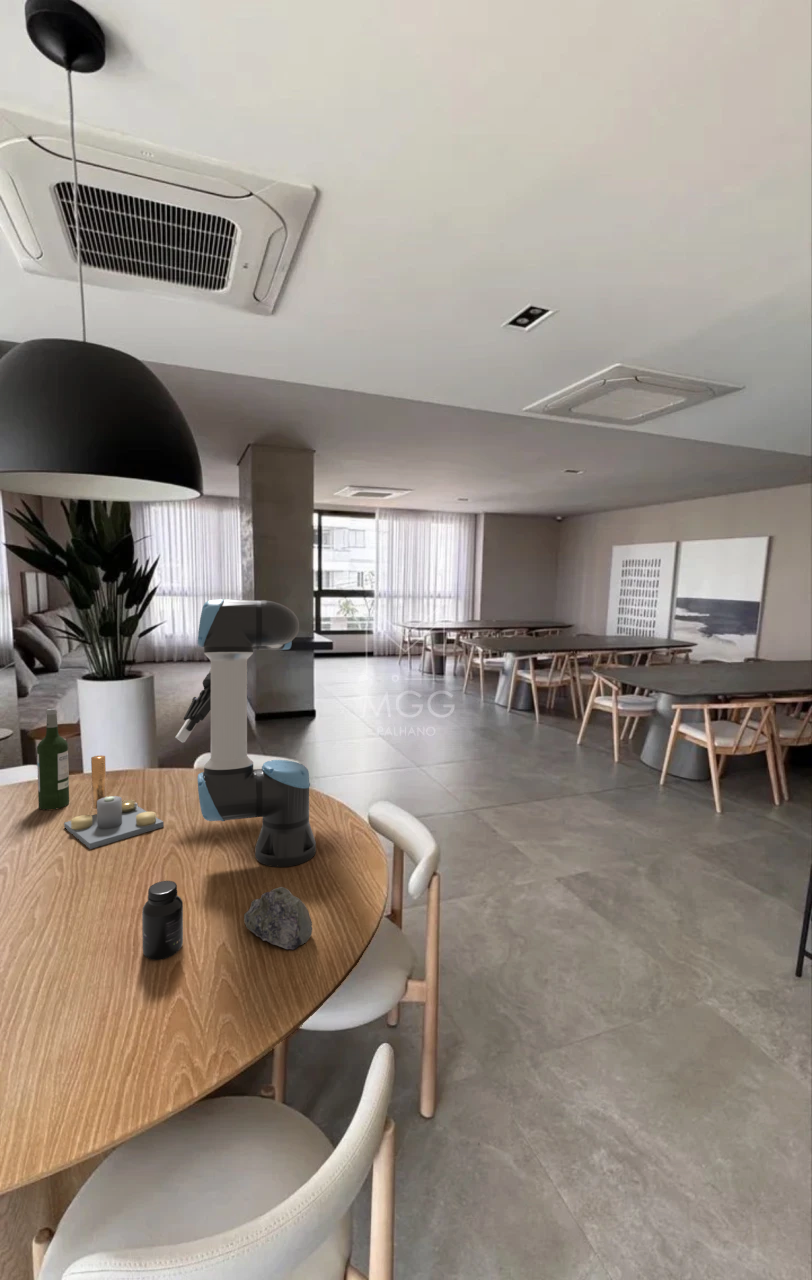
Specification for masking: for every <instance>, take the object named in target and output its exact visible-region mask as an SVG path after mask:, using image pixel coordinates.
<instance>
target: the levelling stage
mask: <svg viewBox="0 0 812 1280" xmlns="http://www.w3.org/2000/svg"><path fill="white" fill-rule="evenodd" d="M122 801H123V799H122V797H121V796H120V795H119V796H117V795H113V796H112V795H111V796H106V797H104V798H101V799H99V800H98V801H97V809H96V813H95V814H92V815H90V814H81V815H77V816H74V817H72V818H71V819H70V820H68V821H65V822H64V823H63V827H65V828H66V829H67V830H66V829H65V828H64V829H65V830H66V831H68V832H69V833H70V834H71V835H72V834H73V835H72V836H74V837H75V838H76V840H78V839H79V840H78V841H79V842H81V843H82V844H83V845H84V844H85V845H86V846H85V845H84V846H85V847H87V848H88V849H89V850H91V849H95V848H98V847H99V848H100V847H102V846H106V845H108V844H112V843H115V842H118V841H121V840H125V839H128V838H132V837H135V836H138V835H141V834H145V833H147V832H148V833H149V832H151V831H154V830H157V829H160V828H164V826H165V825H164V824H165V822H164V821H163V820H161V819H160V818H158V817H157V813H156V812H154V811H146V810H145V809H143V808H142V807H140V806H138V808H137V809H135V810H133V811H129V812H122Z"/></svg>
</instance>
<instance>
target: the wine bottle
mask: <svg viewBox="0 0 812 1280" xmlns="http://www.w3.org/2000/svg"><path fill="white" fill-rule="evenodd" d="M45 715H46V725H45V726H46V727H45V728H46V729H45V731H46V732H45V733H46V734H45V737H44V738H42V739H41V740H40V741H39V742H38V744H37V747H36V756H37V757H36V759H37V761H36V763H37V765H36V767H37V796H38V798H37V799H38V808H39V809H40V808H41V809H40V810H42V809H55V810H57V809H56V808H59V809H62V808H65V807H66V805H67V806H68V805H69V803H70V781H69V780H70V778H69V777H70V776H69V775H70V773H69V771H70V770H69V744H68V742H67V740H66V739H65V738H63V737H62V736H60V734H59V726H58V710H57V708H47V709H46V710H45ZM64 806H65V807H64ZM61 807H62V808H61Z"/></svg>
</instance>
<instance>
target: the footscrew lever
mask: <svg viewBox="0 0 812 1280" xmlns="http://www.w3.org/2000/svg"><path fill="white" fill-rule="evenodd" d="M90 761H91V762H90V763H91V765H90V766H91V800H92V801H91V802H92V803H91V807H92V809H96V810H97V801H98V800H99V799H101V798H104V797H107V776H106V775H107V774H106V773H107V772H106V755H101V754H100V755H94V756H92V757H91V759H90ZM138 804H139V803H138V802H136V800H134V799H124V800H122V812H129V811H133V810H135V809H137V808H138Z"/></svg>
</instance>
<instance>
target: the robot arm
mask: <svg viewBox="0 0 812 1280" xmlns="http://www.w3.org/2000/svg"><path fill="white" fill-rule="evenodd" d="M299 630H300V622H299V618H298V617H297V615H296V614H295V612H294V611H293V610H291V609H290V608H289V607H287V606H286V605H283V604H281V603H278V602H275V601H271V600H265V599H261V600H253V599H252V600H250V599H228V598H227V599H225V598H221V599H209V600H207V601H205V603H203V605H202V609H201V613H200V618H199V625H198V630H197V631H198V632H197V635H198V636H197V646H198V647H201V648H203V654H204V655H205V657H207V658H208V660H209V662H210V670H209V671H208V673H207V674H206V676H205V677H204V678H203V681H202V687H203V689H202V690H201V691H200V693H199V696H198V697H196V696H194V697H193V698H192V700H191V703H190V705H189V708H188V709H187V711H186V713H185V714H184V717H183V720H184V723H183V725H181V728H180V729H179V731H178V732H177V734H176V735H175V737H174V738H175V739H176V740H178V741H179V742H181V743H182V744H183V743H186V741H187V739H189V737H190V735H191V733H192V732H193V731H194V728H195V727H196V726H197V724H199V723H200V721H202V722H203V720H205V718H206V717H207V716H208V714H209V713H210V758H209V760H208V761H207V762H206V763H205V764H204V765H203V772H200V773H198V774H197V791H198V801H199V807H200V811H201V815H202V817H203V819H204V820H205V821H208V822H218V821H220V822H225V821H232V820H242V819H251V818H262V826H261V828H260V831H259V834H258V837H257V841H256V843H255V848H254V849H255V850H254V854H255V856H254V857H255V859H256V861H258V862H259V863H260V864H262V865H265V866H268V867H276V868H283V867H287V868H288V867H293V866H298V865H301V864H304V863H306V862H307V861H310V860H311V859H312V858H313V857H314V856H315V855H316V851H317V843H316V839H315V836H314V832H313V830H312V826H311V823H310V787H311V782H310V772H309V769H308V768H307V767H306V765H304V764H302V763H300V762H297V761H292V760H285V759H273V760H267V761H265V762H264V763H263V764H262V766H261V768H257V769H256V768H254V761H253V760H252V759H251V758H250V757H249V756H248V717H247V716H248V687H247V686H248V674H247V673H248V671H247V670H248V664H247V663H248V660H249V658H251V656H252V655H253V654H254V651H261V650H262V651H263V650H264V651H266V650H267V651H269V650H270V651H286V650H290V649H291V648H292V643H293V642H292V641H293V640H294V639H295V638H296V637H297V635H298V634H299Z"/></svg>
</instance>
